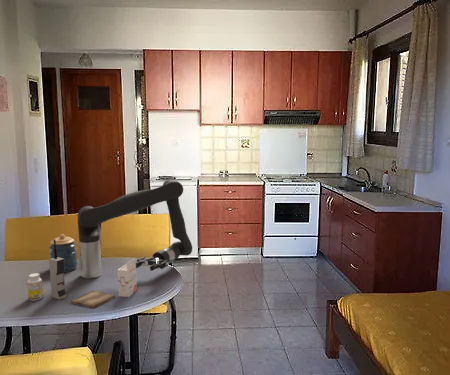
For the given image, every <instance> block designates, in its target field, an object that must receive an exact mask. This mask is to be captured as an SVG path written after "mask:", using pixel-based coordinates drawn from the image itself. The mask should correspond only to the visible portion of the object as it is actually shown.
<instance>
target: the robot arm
mask: <svg viewBox="0 0 450 375" xmlns="http://www.w3.org/2000/svg"><path fill="white" fill-rule="evenodd" d="M183 193H184V186H183V185H182V183H181V182H179V181H178V180H174V179H171V178H170V179H166V180H165V181H164V182H163V183H162V185H161V186H158V187H155V188H152V189H142V190H138V191H133V192H130V193H127V194H125V195H122V196H119V197H117V198H116V199H114V200H112V201H110V202H108V203H106V204H104V205H99V206H96V207H93V206H91V205H85V206H83V207H81V208H80V209H79V210H78V212H77V227H78V228H77V229H78V232H77V233H78V238H79V239H78V240H79V241H78V242H79V256H78V267H79V277H81V278H83V279H94V278H99V277H100V276H101V275H102V261H101V260H102V258H101V257H102V256H101V240H100V238H101V237H100V229H99V225H101V224H102V223H104V222H105V223H106V222H107V221H110V220H112V219H115V218H119V217H122V216H126V215H129V214H132V213H133V214H134V213H135V212H138V211H141V210H144V209H147V208H150V207H152V206H154V205H156V204H159V203H163V202H165V203H166V205H167V210H168V214H169V220H170V226H171V232H172V236H173V238H175V239H177V240H179V241H175V242H172V243H171V244H170V246H167V247H166V248H162V249H160V250H158V251H155V252H154V253H153V254H152V256H150V257H147V256H143V257H139V258H138V259H136V262H135V263H136V269H138V268H140V267H149V266H150V267H149V271H151V272H153V271H154V270H159V269H160V270H163V269H165V268H166V267H168V266H169V264H171V263H172V262H174V261H175V260H177V259H179V257H180V256H190V255H191V254H192V252H193V245H192V242H191V239H190V237H189V235H188V233H187V229H186V222H185V218H184V215H183V212H182V210H181V206H180V201H179V200H180V197H181V196H182V195H183Z"/></svg>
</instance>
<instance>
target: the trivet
mask: <svg viewBox="0 0 450 375" xmlns="http://www.w3.org/2000/svg"><path fill="white" fill-rule="evenodd" d="M115 296H116V295H115V294H112V293H107V292H103V291H98V290H91V291H87V292H86V293H84V294H82V295H80V296H78V297H76V298H74V299H72V300H71V304H75V305H78V306H79V305H80V306H83V307H87V308H92V309H95V308H97V307H100V306H101V305H104V304H105V303H107V302H108V301H110V300H113V299H114V298H115Z"/></svg>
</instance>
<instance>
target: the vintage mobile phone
mask: <svg viewBox="0 0 450 375" xmlns="http://www.w3.org/2000/svg"><path fill="white" fill-rule="evenodd" d="M53 239H54V254H55V258H52V259H50V258H49V260H48V261H49V264H48V265H49V278H50V291H51V292H50V294H51V299H52V298H53V299H56V300H58V301H59V300H63V299H65V298H67V297H68V296H67V295H68V294H67V292H66V288H65V286H66V285H65V272H64V258H59V257H57V251H56V241H55V238H53Z"/></svg>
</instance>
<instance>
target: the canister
mask: <svg viewBox="0 0 450 375" xmlns="http://www.w3.org/2000/svg"><path fill="white" fill-rule="evenodd" d="M54 239H55V241H56V251H57V257H59V258H64V273H66V272H71V271H73V270H76V269H77V268H78V266H79V261H78V255H77V252H78V251H77V248H76V246H77V245H78V244H77V243H76V242H75V239H74V238H72V237H71V236H66V235H65V234H64V233H61V234H60V235H59V236H58V237H54V238H53V239H52V240H51V241H50V242H49V243H50V245H48V249H49V253H48V254H49V259H52V258H55V254H54Z"/></svg>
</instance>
